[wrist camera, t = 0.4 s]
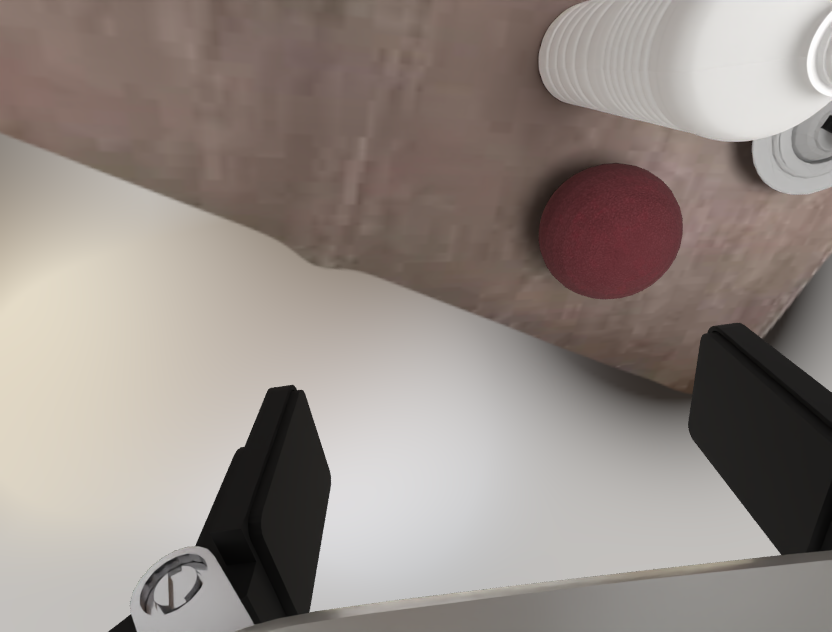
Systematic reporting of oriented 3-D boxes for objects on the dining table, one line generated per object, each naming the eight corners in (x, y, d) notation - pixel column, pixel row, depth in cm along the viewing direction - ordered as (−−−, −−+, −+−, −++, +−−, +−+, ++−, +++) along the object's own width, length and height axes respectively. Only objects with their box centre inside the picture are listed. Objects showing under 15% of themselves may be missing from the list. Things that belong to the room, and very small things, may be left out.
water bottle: (607, 111, 37) (913, 186, 15) (526, 94, 36) (720, 146, 14) (653, -25, 33) (1167, -201, 11) (563, -47, 32) (914, -283, 10)
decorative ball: (566, 131, 38) (617, 152, 29) (669, 183, 40) (746, 218, 31) (504, 243, 42) (531, 292, 33) (600, 285, 44) (650, 342, 35)
